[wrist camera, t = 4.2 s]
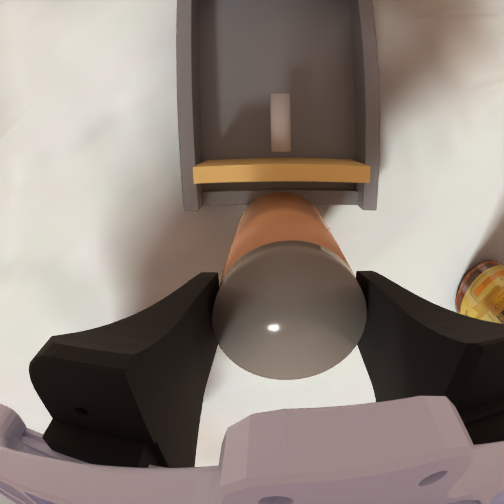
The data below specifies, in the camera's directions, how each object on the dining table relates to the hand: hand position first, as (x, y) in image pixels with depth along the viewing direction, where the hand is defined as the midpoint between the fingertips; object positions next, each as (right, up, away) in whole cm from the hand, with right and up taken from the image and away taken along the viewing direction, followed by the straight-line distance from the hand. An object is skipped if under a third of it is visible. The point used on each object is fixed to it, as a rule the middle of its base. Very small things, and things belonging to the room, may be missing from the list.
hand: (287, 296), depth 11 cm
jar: (0, +3, +6) cm, 7 cm away
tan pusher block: (0, +8, +5) cm, 10 cm away
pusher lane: (0, +11, +5) cm, 13 cm away
